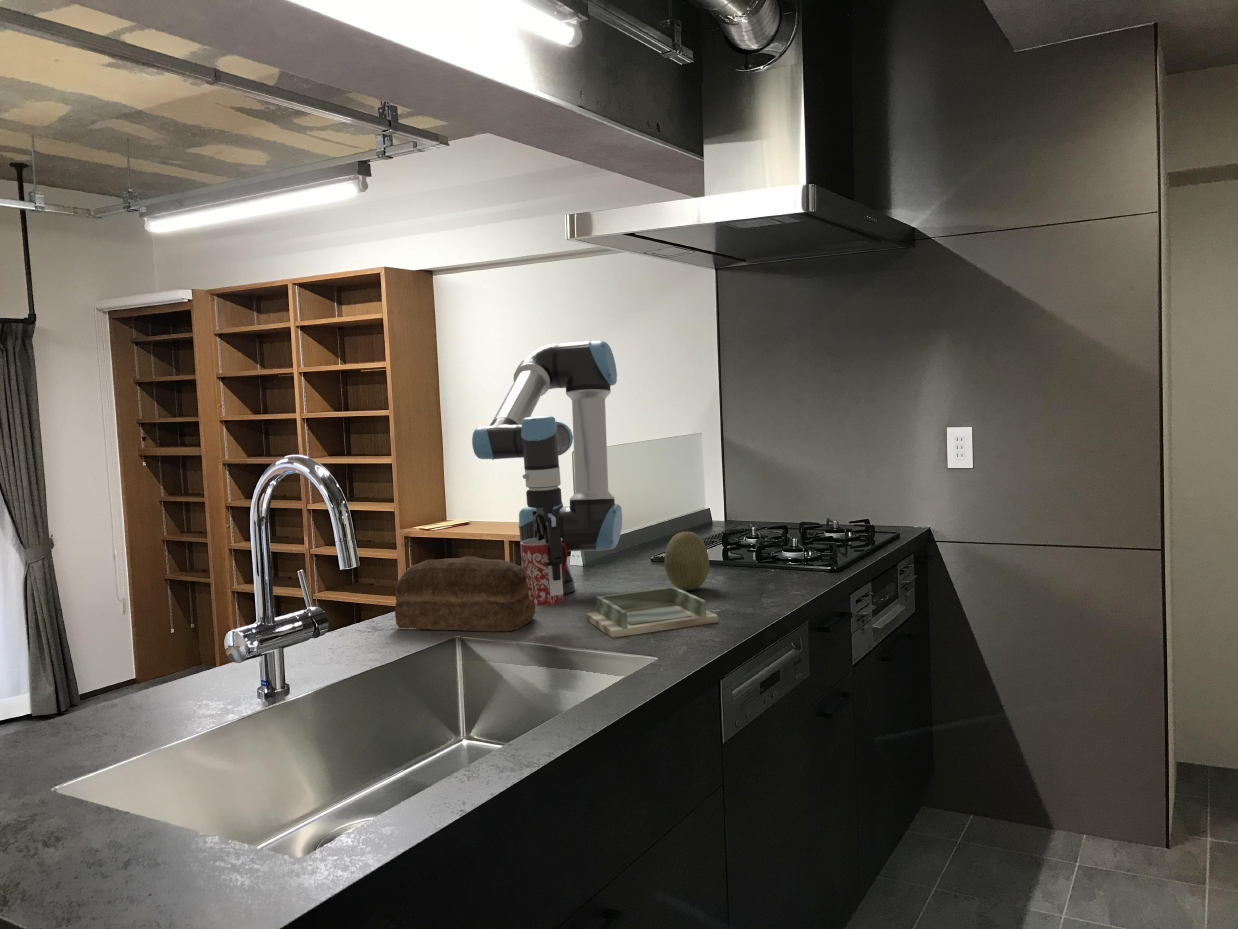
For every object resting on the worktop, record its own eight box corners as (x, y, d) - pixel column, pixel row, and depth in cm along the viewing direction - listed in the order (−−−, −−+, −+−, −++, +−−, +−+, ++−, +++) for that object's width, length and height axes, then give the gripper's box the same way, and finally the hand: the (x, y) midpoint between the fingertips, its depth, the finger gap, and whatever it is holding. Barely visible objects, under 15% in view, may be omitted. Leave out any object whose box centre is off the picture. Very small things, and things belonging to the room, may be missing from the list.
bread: (421, 616, 230) (416, 551, 229) (543, 618, 220) (538, 550, 218) (388, 631, 216) (383, 562, 215) (516, 634, 206) (511, 561, 205)
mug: (549, 608, 201) (544, 545, 199) (516, 604, 206) (511, 543, 204) (585, 594, 211) (580, 534, 210) (553, 591, 216) (548, 533, 215)
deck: (587, 620, 214) (585, 598, 214) (685, 606, 222) (684, 585, 221) (612, 637, 197) (610, 613, 197) (717, 622, 205) (716, 599, 204)
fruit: (658, 589, 244) (655, 531, 242) (697, 583, 248) (694, 526, 247) (678, 596, 233) (675, 536, 232) (719, 590, 237) (715, 531, 236)
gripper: (515, 485, 214) (522, 583, 217) (538, 494, 194) (546, 602, 196) (547, 481, 217) (554, 579, 219) (573, 490, 196) (581, 597, 198)
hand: (551, 590), depth 208 cm, fingers closed on mug, 9 cm apart
